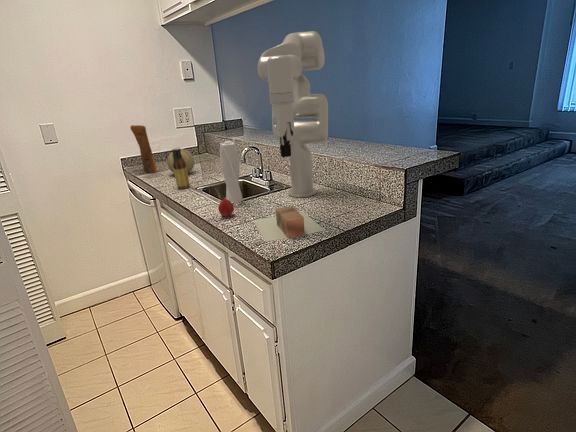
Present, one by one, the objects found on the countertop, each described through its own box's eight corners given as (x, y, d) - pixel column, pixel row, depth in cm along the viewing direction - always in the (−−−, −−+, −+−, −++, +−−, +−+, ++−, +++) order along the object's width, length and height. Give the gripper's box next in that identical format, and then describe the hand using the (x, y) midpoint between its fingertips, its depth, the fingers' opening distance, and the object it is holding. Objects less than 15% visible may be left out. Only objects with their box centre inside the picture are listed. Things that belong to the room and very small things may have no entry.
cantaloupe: (197, 175, 204) (193, 148, 198) (170, 179, 199) (165, 152, 193) (193, 169, 217) (189, 145, 211) (168, 173, 212) (164, 148, 206)
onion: (216, 217, 138) (213, 198, 135) (228, 213, 142) (226, 194, 139) (225, 221, 134) (222, 201, 131) (237, 216, 138) (235, 196, 135)
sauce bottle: (183, 185, 185) (177, 147, 178) (192, 186, 182) (186, 147, 174) (174, 189, 180) (167, 149, 172) (183, 190, 176) (176, 150, 169)
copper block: (275, 208, 124) (286, 220, 114) (291, 206, 126) (303, 217, 115) (276, 224, 126) (287, 237, 116) (292, 221, 128) (304, 234, 117)
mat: (252, 221, 132) (252, 220, 132) (303, 212, 137) (303, 211, 137) (266, 243, 114) (266, 241, 114) (324, 231, 119) (324, 230, 119)
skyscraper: (248, 201, 155) (241, 136, 145) (237, 207, 149) (229, 139, 138) (233, 199, 159) (225, 135, 149) (221, 205, 153) (212, 138, 143)
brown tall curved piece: (149, 174, 212) (139, 126, 201) (138, 170, 226) (128, 124, 215) (160, 172, 215) (151, 124, 205) (149, 167, 229) (140, 123, 219)
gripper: (264, 98, 118) (269, 153, 125) (277, 101, 105) (281, 162, 112) (286, 96, 120) (289, 150, 127) (301, 99, 107) (304, 159, 114)
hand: (286, 156), depth 119 cm, fingers closed
